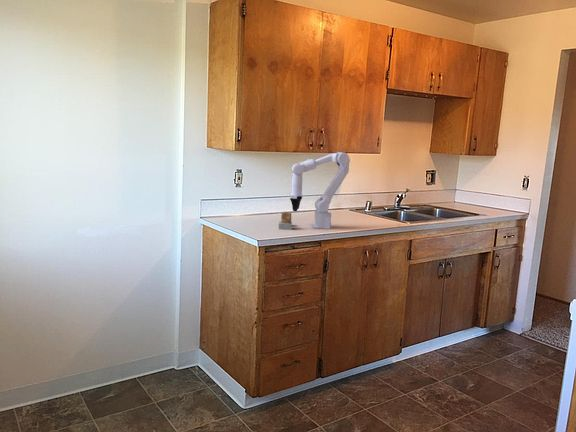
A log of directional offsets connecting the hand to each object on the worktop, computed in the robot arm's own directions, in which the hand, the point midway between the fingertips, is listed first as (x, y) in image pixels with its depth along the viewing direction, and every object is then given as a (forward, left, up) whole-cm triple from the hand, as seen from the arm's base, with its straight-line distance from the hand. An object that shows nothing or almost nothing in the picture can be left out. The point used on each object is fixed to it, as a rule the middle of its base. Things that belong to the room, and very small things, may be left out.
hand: (295, 210), depth 273 cm
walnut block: (+4, +6, -6) cm, 10 cm away
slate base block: (+5, +7, -10) cm, 13 cm away
